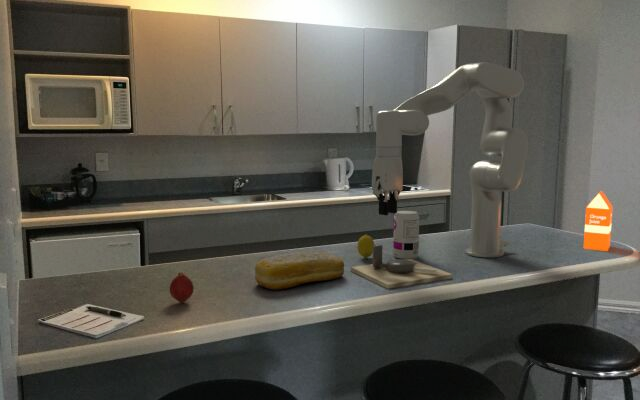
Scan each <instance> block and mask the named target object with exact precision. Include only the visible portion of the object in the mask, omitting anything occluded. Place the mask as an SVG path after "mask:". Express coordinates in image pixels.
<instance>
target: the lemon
mask: <svg viewBox="0 0 640 400" xmlns="http://www.w3.org/2000/svg"><path fill="white" fill-rule="evenodd" d="M357 242H358V243H357V245H356V247H357V252H358V254H359V255H360V256H361V257H363V258H364V259H368V258H369V257H370V256H373V245H375V242H374V239H373V238H372V237H371V236H370V235H368V234H364V235H362V236H361V237H360V238H359V239H358V241H357Z"/></svg>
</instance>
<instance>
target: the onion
mask: <svg viewBox="0 0 640 400" xmlns="http://www.w3.org/2000/svg"><path fill="white" fill-rule="evenodd" d="M193 283H194V282H193V281H192V280H191V279H190V278H189V277H188V276H187V275H185V274H184V273H183V272H182V271H180V272H178V273H177V276H175V277H174V278H173V279H172V280H171V283H170V284H169V293H170V296H171V297H172V298H173V299H174V300H175V301H177V302H178V303H180V304H183V303H185V302H186V301H188V300H189V299H190V298H191V296H192V295H193V293H194V289H195V288H194V284H193Z"/></svg>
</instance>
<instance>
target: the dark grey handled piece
mask: <svg viewBox="0 0 640 400" xmlns="http://www.w3.org/2000/svg"><path fill="white" fill-rule="evenodd" d="M385 262H387V263H385ZM385 262H383V245H382V244H374V245H373V254H372V264H373V267H375V268H387V270H389V271H392V272H398V273H406V272H412V271H414V270H416V271H425V272H435V273H436V270H437V269H438V268H437V269H427V268H418V267H414V262H412V261H408V260H406V259H391V260H388V261H385Z"/></svg>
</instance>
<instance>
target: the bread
mask: <svg viewBox="0 0 640 400" xmlns="http://www.w3.org/2000/svg"><path fill="white" fill-rule="evenodd" d="M344 274H345V263H344V260H342V259H341V258H340V257H338V256H336V255H334V254H332V253H329V252H323V251H321V252H320V251H319V252H318V251H317V252H316V251H304V250H303V251H297V252H290V253H283V254H278V255H273V256H271V257H270V256H269V257H267V258H263V259H261V260H260V261H257V262H256V264H255V266H254V279H255V281H256V282H257V284H258V286H259V287H261V288H262V287H264V288H265V289H268V290H274V291H277V290H278V291H279V290H284V289H289V288H293V287H297V286H299V285H303V284H306V283H307V284H308V283H311V282H320V281H321V282H322V281H330V280H331V281H332V280H336V279H340V278H341V277H343V275H344Z"/></svg>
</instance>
